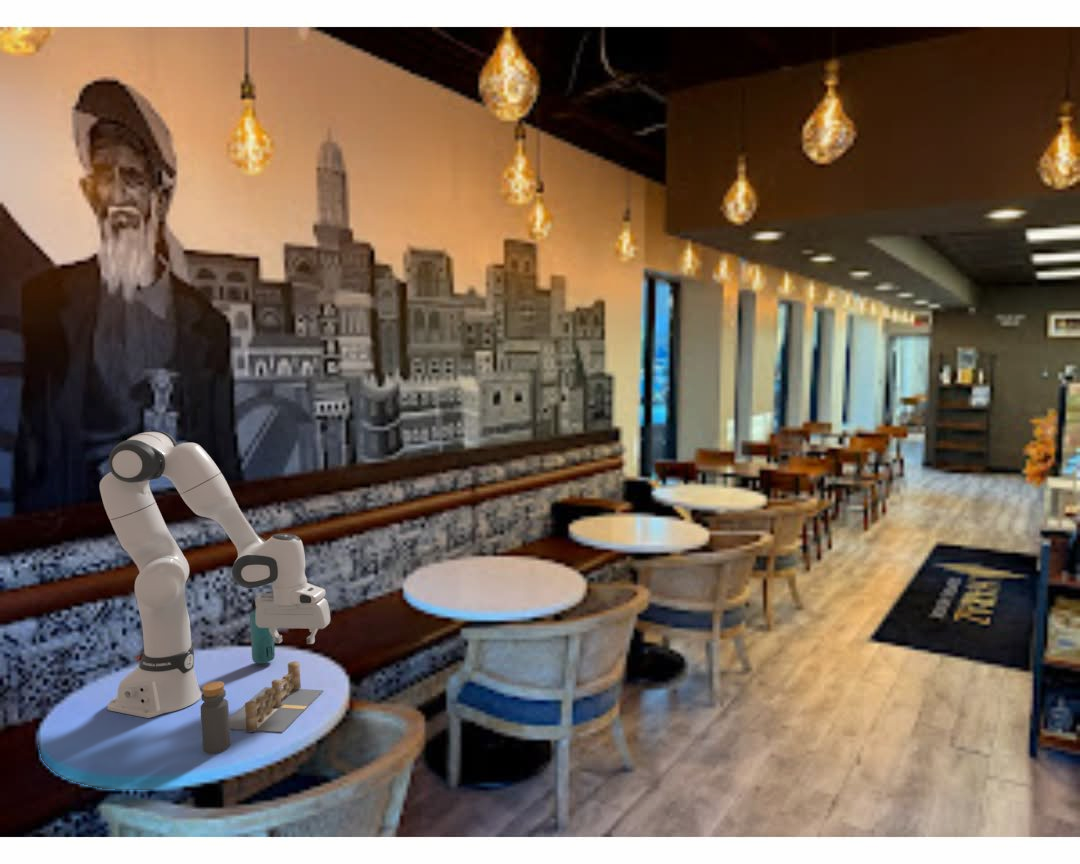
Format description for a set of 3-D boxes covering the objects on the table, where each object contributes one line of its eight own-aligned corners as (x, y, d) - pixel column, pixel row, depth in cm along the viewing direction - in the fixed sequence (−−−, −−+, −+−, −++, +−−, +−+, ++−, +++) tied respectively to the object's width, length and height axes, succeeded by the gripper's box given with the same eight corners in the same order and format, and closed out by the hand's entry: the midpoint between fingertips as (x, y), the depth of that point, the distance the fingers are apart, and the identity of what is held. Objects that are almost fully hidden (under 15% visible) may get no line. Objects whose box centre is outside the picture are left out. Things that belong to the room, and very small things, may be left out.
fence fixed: (244, 731, 172) (242, 705, 172) (274, 704, 186) (273, 679, 186) (253, 732, 172) (252, 705, 171) (283, 704, 186) (282, 679, 185)
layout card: (217, 728, 175) (217, 727, 175) (265, 688, 196) (265, 686, 196) (282, 732, 172) (282, 731, 172) (323, 691, 194) (323, 689, 194)
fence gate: (274, 701, 187) (273, 676, 186) (292, 685, 196) (291, 661, 196) (285, 701, 186) (283, 676, 186) (302, 685, 196) (301, 661, 195)
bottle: (229, 751, 164) (225, 689, 163) (201, 756, 163) (197, 693, 161) (232, 739, 170) (228, 678, 168) (205, 743, 168) (201, 682, 167)
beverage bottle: (267, 669, 209) (263, 602, 207) (247, 667, 210) (243, 601, 208) (280, 660, 215) (276, 595, 213) (260, 658, 216) (256, 594, 214)
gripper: (248, 596, 190) (252, 646, 192) (320, 597, 187) (324, 648, 189) (261, 589, 197) (265, 637, 198) (330, 589, 193) (334, 638, 195)
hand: (294, 642), depth 193 cm, fingers open, 8 cm apart
